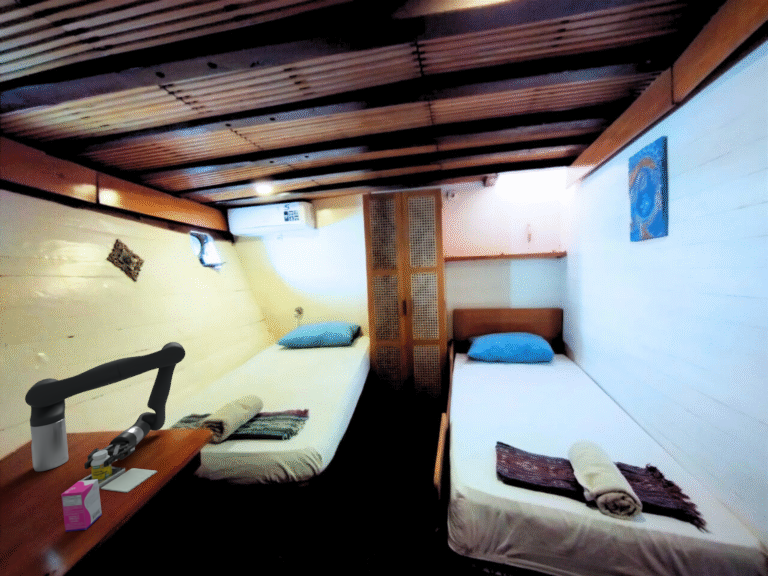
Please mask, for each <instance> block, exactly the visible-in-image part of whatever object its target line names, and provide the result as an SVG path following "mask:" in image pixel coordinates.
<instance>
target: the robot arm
mask: <svg viewBox="0 0 768 576" xmlns="http://www.w3.org/2000/svg"><path fill="white" fill-rule="evenodd" d="M185 357H186V350H185V348H184V347H183V345H182V344H181V343H180V342H178V341H169V342H168V343H165V344H164V345H163V346H162V348H161V349H160V350H157V351H154V352H151V353H147V354H143V355H137V356H128V357H122V358H118V359H114V360H111V361H108V362H104V363H102V364H98V365H97V366H94V367H92V368H89V369H87V370H85V371H83V372H81V373H79V374H76V375H73V376H70V377H67V378H63V379H57V378H52V377H51V378H45V379H41V380H38V381H37V382H35V383H33V385H32V386H31V387H30V388H29V389H28V390H27V392H26V394H25V397H24V401H25V403H26V404H27V405H28V406H30V409H31V410H30V418H29V425H30V435H31V436H30V437H31V445H30V449H31V457H32V458H31V459H32V460H31V461H32V468H33V469H34V471H35V472H44V471H48V470H49V471H50V470H52V469H55V468H57V467H60V466H62V465H63V464H65V463H67V462H68V461H69V451H68V450H69V449H68V448H69V447H68V436H67V426H66V416H65V415H66V414H65V413H66V399H69V398H71V397H73V396H76V395H79V394H82V393H85V392H88V391H92V390H96V389H99V388H103V387H106V386H110V385H113V384H116V383H119V382H122V381H125V380H128V379H130V378H134V377H136V376H139V375H142V374H144V373H147V372H151V371H154V370H157V369H158V371H157V373H156V377H155V380H154V383H153V385H152V387H151V388H152V389H151V392H150V395H149V397H148V401H147V405H146V406H147V408H149V409H150V410H152V411H154V412H149V411H146V412H143V413H141V414H140V415H139V416H138V418H137V420H136V421H135V422H134V424H133V425H131V426H130V427H128V428H127V429H125V430H123V431H122V432H121V433H119V434H118V435H117V436H116V437H114V438H113V439H112V440H111V441H110V442H109V444H108V446H105V447H103V448H102V449H99V447H96V448H94V449H93V450H92V451H91V452H90V453H89V454H88V455H87V461H86V462H84V470H88V469H91V462H92V461H93V454H94V453H96V452H99V451H102V450H107V451H108V455H109V456H110V457H109V458H108V459H106V460H105V461H104V467H108V466H109V465H110V464H111V465H112V464H113V463H114V462H116V461H118V460H120V461H121V460H125V459H126V458H127V457H129V456H130V455H132V454H133V453H134V452H135V451H136V449H135V448H136V446H137V445H138V444H139V443H140V442H141V441H142V440H143V439H144V438H145V437H146V436H147V435H148V434H149V433H150V431H154V432H157V431H160V430H161V429H162V428H163V427H164V425H165V422H166V406H167V405H166V404H167V402H168V398H169V395H170V391H171V386H172V381H173V376H174V372H175V369H176V367H177V364H178V363H179V364H180V362H182V361H183V360H184V359H185Z"/></svg>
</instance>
